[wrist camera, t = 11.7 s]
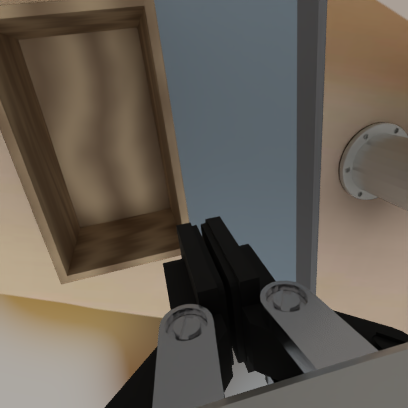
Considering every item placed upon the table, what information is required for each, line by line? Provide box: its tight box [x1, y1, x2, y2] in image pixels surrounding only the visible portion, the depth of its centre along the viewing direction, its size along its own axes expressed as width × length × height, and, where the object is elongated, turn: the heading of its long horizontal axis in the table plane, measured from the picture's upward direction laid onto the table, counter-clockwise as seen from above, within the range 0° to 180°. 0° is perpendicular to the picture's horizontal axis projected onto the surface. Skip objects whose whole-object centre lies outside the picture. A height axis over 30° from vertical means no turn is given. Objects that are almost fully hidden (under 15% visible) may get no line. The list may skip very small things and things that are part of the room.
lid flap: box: [154, 0, 327, 295], centre depth 23 cm, size 14×24×1 cm
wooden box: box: [0, 0, 189, 284], centre depth 32 cm, size 14×24×12 cm, turn 7°
